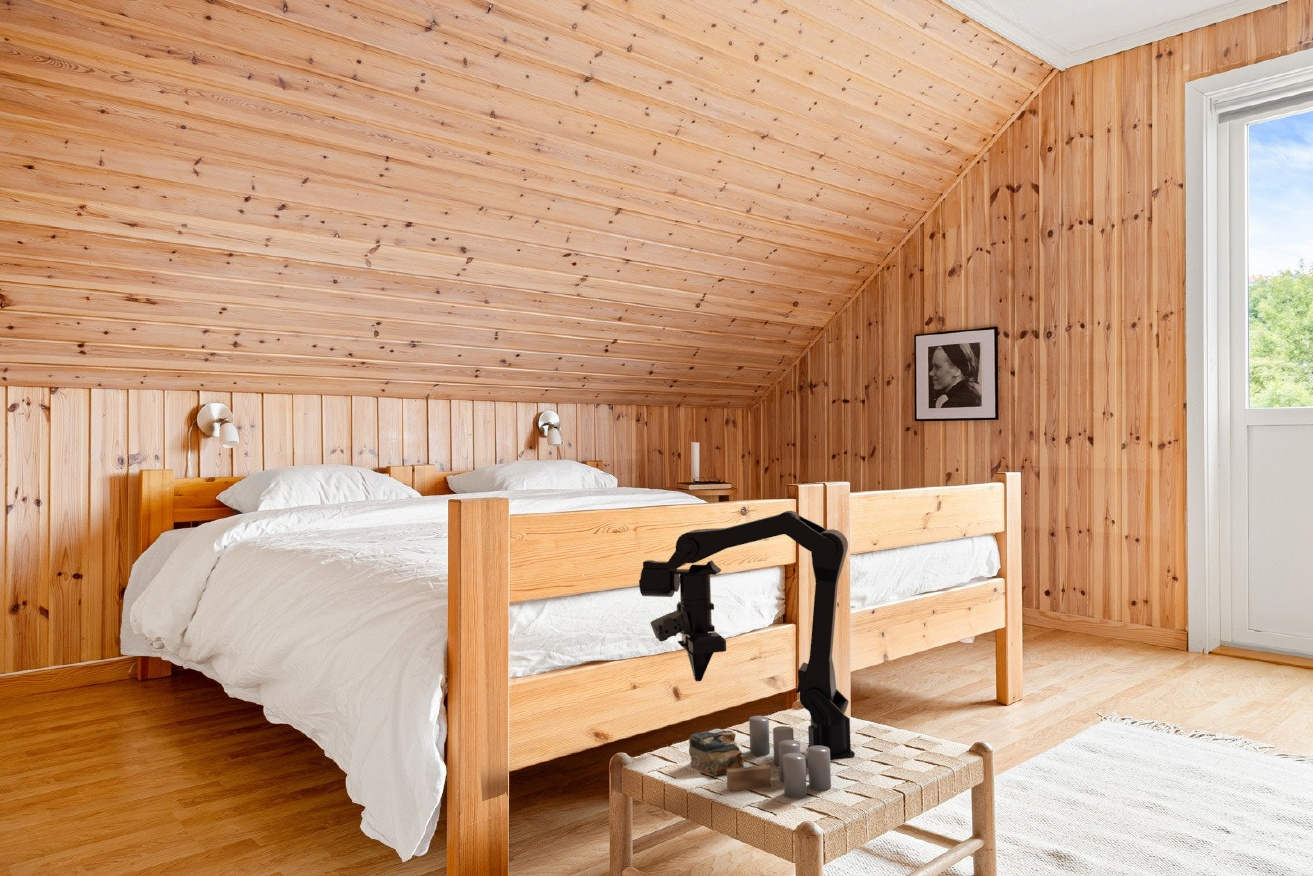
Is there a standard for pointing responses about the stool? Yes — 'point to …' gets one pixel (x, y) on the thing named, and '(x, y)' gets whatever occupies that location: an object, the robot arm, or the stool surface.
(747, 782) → the bar
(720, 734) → the rock
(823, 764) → the spacers
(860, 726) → the stool surface
